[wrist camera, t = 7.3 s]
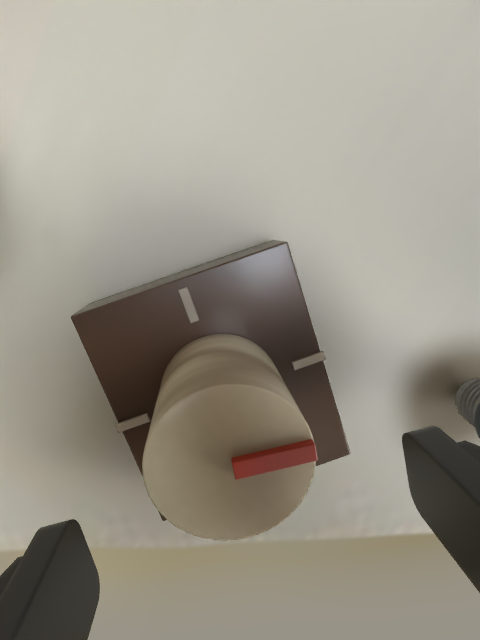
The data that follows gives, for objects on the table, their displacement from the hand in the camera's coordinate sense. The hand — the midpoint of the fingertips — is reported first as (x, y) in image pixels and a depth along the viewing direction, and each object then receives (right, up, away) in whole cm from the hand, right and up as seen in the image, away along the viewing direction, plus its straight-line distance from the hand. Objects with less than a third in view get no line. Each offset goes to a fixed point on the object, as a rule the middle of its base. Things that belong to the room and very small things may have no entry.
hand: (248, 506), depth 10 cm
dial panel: (-1, +2, +10) cm, 11 cm away
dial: (-1, +2, +7) cm, 7 cm away
